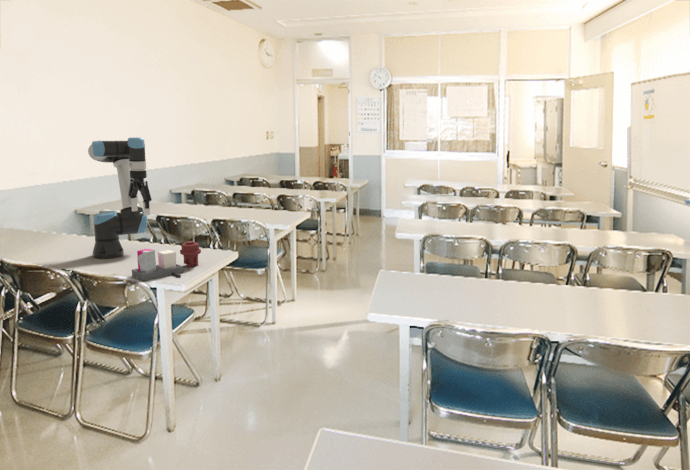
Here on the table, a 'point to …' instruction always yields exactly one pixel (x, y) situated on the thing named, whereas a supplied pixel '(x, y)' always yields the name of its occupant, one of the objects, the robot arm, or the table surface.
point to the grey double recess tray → (161, 267)
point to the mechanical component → (190, 253)
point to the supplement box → (146, 260)
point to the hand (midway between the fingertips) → (140, 213)
